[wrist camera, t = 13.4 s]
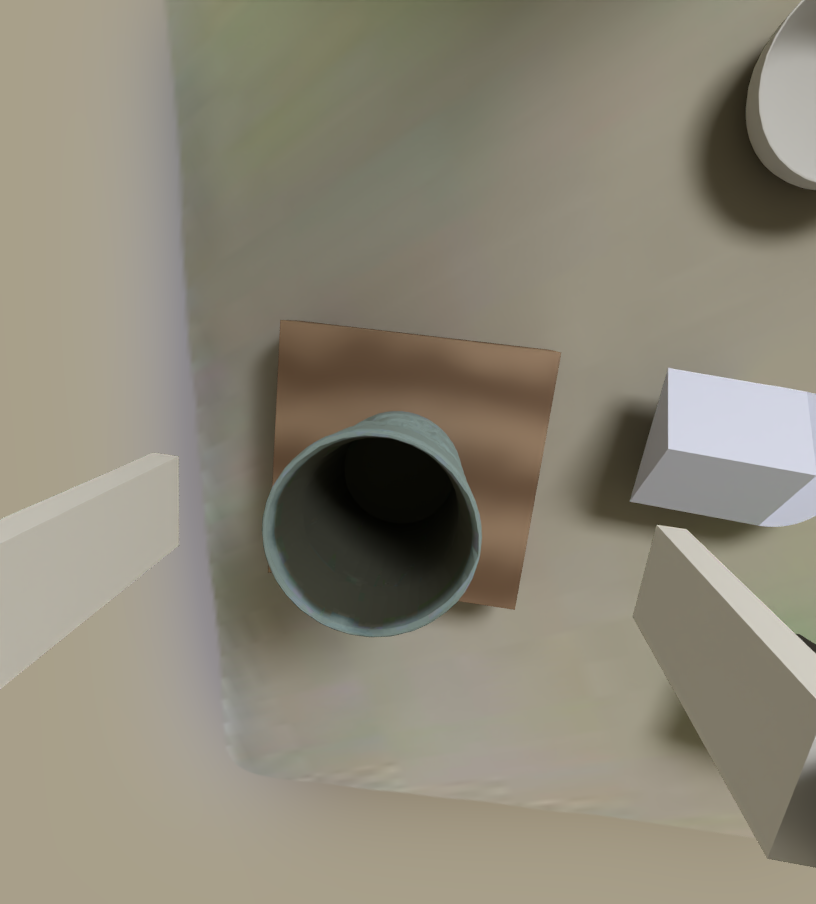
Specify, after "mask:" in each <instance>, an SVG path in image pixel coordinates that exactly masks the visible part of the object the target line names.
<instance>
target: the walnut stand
mask: <svg viewBox="0 0 816 904" xmlns="http://www.w3.org/2000/svg"><path fill="white" fill-rule="evenodd" d="M560 357H561V353H560V352H556V351H552V350H546V349H537V348H528V347H520V346H511V345H503V344H494V343H486V342H477V341H468V340H460V339H451V338H443V337H434V336H425V335H417V334H408V333H400V332H391V331H382V330H374V329H365V328H357V327H348V326H339V325H331V324H322V323H314V322H305V321H291V320H280V339H279V360H278V380H277V401H276V421H275V441H274V462H273V482H272V487H273V485H274V483H275V482H276V480H277V479H278V477H279V476H280V474H281V473H282V471H283V470H284V468H285V467H286V466H287V465H288V464H289V463H290V462H291V461H292V460H293V459H294V458H295V457H296V456H297V455H298V454H300V453H301V452H302V451H303V450H304V449H305V448H307V447H308V446H310V445H311V444H313V443H314V442H316V441H318V440H320V439H322V438H323V437H325V436H328V435H332V434H334V433H336V432H338V431H341V430H343V429H345V428H348V427H352V426H354V425H356V424H357V423H359V422H361V421H363V420H365V419H367V418H369V417H371V416H374V415H376V414H379V413H383V412H389V411H404V412H410V413H414V414H418V415H420V416H422V417H425V418H427V419H429V420H430V421H432V422H433V423H435V424H436V425H438V426H439V427H440V428H441V429H442V430H443V431H444V432H445V433H446V434H447V435H448V437H449V438H450V440H451V441H452V442H453V444H454V446H455V448H456V450H457V452H458V455H459V458H460V461H461V466H462V468H463V471H464V475H465V477H466V480H467V483H468V485H469V487H470V489H471V492H472V494H473V496H474V499H475V501H476V504H477V507H478V511H479V514H480V520H481V528H482V543H481V552H480V557H479V561H478V564H477V567H476V570H475V573H474V576H473V579H472V580H471V582H470V584H469V586H468V588H467V589H466V591H465V593H464V594H463V595H462V596H461V598H460V599H459V600H458V601H461V602H468V603H474V604H481V605H488V606H494V607H501V608H507V609H514V610H515V605H516V600H517V594H518V589H519V583H520V578H521V572H522V567H523V561H524V556H525V550H526V545H527V539H528V533H529V528H530V522H531V517H532V511H533V506H534V500H535V495H536V489H537V484H538V478H539V473H540V467H541V462H542V456H543V451H544V445H545V440H546V434H547V428H548V423H549V417H550V412H551V406H552V401H553V395H554V390H555V384H556V379H557V373H558V368H559V362H560ZM268 572H270V573H272V571H271V569H270V567H269V564H268Z"/></svg>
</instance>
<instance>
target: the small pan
mask: <svg viewBox="0 0 816 904" xmlns="http://www.w3.org/2000/svg"><path fill="white" fill-rule="evenodd" d="M746 126H747V131H748V135H749V140H750V142H751V144H752V147H753V149H754V151H755V153H756V155H757V156H758V158H759V159H760V161H761V162H762V163H763V165H764V166H765V167H767V168H768V169H769V170H770V171H771V172H772V173H773V174H774V175H776V176H778V177H779V178H781V179H783V180H784V181H786V182H788V183H790V184H792V185H795V186H798V187H801V188H804V189H811V190H816V0H802V1H801V2H800V3H799V4H798V5H797V7H796V8H795V9H794V10H793V11H792V12H791V13H790V14H789V15H788V17H787V18H786V19H785V20H784V21H783V22H782V24H781V25H780V26H779V27H778V28H777V30H776V31H775V33H774V34H773V35H772V37H771V38H770V40H769V41H768V43H767V44H766V46H765V48H764V49H763V51H762V52H761V54H760V57H759V59H758V61H757V63H756V65H755V68H754V70H753V73H752V77H751V80H750V84H749V87H748V95H747V103H746Z"/></svg>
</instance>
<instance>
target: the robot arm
mask: <svg viewBox="0 0 816 904" xmlns="http://www.w3.org/2000/svg"><path fill="white" fill-rule="evenodd" d="M178 546H179V457H178V456H173V455H166V454H158V453H151V454H148V455H146V456H144V457H141V458H139V459H137V460H135V461H132V462H130V463H128V464H125V465H123V466H121V467H119V468H116V469H114V470H112V471H110V472H107V473H105V474H103V475H100V476H98V477H96V478H93V479H91V480H89V481H87V482H85V483H82V484H80V485H77V486H75V487H73V488H71V489H68V490H66V491H64V492H62V493H59V494H57V495H55V496H52V497H50V498H48V499H45V500H43V501H41V502H39V503H36V504H34V505H32V506H29V507H27V508H25V509H23V510H20V511H18V512H16V513H14V514H11V515H9V516H7V517H4V518H2V519H0V689H1V688H2V687H3V686H5V685H6V684H7V683H8V682H10V681H11V680H12V679H13V678H15V677H16V676H17V675H18V674H20V673H21V672H22V671H23V670H25V669H26V668H27V667H28V666H30V665H31V664H32V663H33V662H34V661H36V660H37V659H38V658H40V657H41V656H42V655H43V654H45V653H46V652H47V651H48V650H49V649H51V648H52V647H53V646H55V645H56V644H57V643H58V642H60V640H62V639H63V638H64V637H66V636H67V635H68V634H69V633H71V632H72V631H73V630H74V629H76V628H77V627H78V626H79V625H81V624H82V623H83V622H84V621H86V620H87V619H88V618H89V617H91V616H92V615H93V614H94V613H96V612H97V611H98V610H99V609H101V608H102V607H103V606H104V605H105V604H107V603H108V602H109V601H111V600H112V599H113V598H114V597H116V596H117V595H118V594H119V593H120V592H122V591H123V590H124V589H126V588H127V587H128V586H129V585H131V584H132V583H133V582H134V581H136V580H137V579H138V578H139V577H140V576H142V575H143V574H144V573H145V572H147V571H148V570H149V569H150V568H152V567H153V566H154V565H155V564H157V563H158V562H159V561H160V560H162V559H163V558H164V557H165V556H167V555H168V554H169V553H170V552H172V551H173V550H174V549H175V548H177V547H178ZM633 618H634V620H635V622H636V624H637V625H638V627H639V629H640V631H641V633H642V634H643V636H644V638H645V640H646V641H647V643H648V645H649V647H650V649H651V650H652V652H653V654H654V656H655V658H656V659H657V661H658V663H659V665H660V667H661V668H662V670H663V672H664V674H665V676H666V677H667V679H668V681H669V683H670V685H671V686H672V688H673V690H674V692H675V694H676V695H677V697H678V699H679V701H680V703H681V704H682V706H683V708H684V710H685V712H686V713H687V715H688V717H689V719H690V721H691V722H692V724H693V726H694V728H695V730H696V731H697V733H698V735H699V737H700V739H701V740H702V742H703V744H704V746H705V748H706V749H707V751H708V753H709V755H710V757H711V758H712V760H713V762H714V764H715V765H716V767H717V769H718V771H719V773H720V774H721V776H722V778H723V780H724V782H725V783H726V785H727V787H728V789H729V791H730V792H731V794H732V796H733V798H734V800H735V801H736V803H737V805H738V807H739V809H740V810H741V812H742V814H743V816H744V818H745V819H746V821H747V823H748V825H749V827H750V828H751V830H752V832H753V834H754V836H755V837H756V839H757V841H758V843H759V845H760V846H761V848H762V850H763V852H764V854H765V855H766V857H767V858H768V859H772V860H778V861H783V862H789V863H794V864H799V865H805V866H810V867H816V644H814V643H812V642H811V641H809V640H808V639H806V638H805V637H803V636H801V635H800V634H795V633H794V632H793V631H792V630H791V629H790V628H789V627H788V626H787V625H786V624H784V623H783V622H782V621H781V620H780V619H779V618H778V617H777V616H776V615H775V614H774V613H773V612H772V611H771V610H770V609H769V608H768V607H767V606H766V605H765V604H764V603H763V602H762V601H761V600H760V599H759V598H757V597H756V596H755V595H754V594H753V593H752V592H751V591H750V590H749V589H748V588H747V587H746V586H745V585H744V584H743V583H742V582H741V581H740V580H739V579H738V578H737V577H736V576H735V575H734V574H733V573H732V572H731V571H729V570H728V569H727V568H726V567H725V566H724V565H723V564H722V563H721V562H720V561H719V560H718V559H717V558H716V557H715V556H714V555H713V554H712V553H711V552H710V551H709V550H708V549H707V548H706V547H705V546H704V545H703V544H701V543H700V542H699V541H698V540H697V539H696V538H695V537H694V536H693V535H692V534H691V533H690V532H689V531H688V530H687V529H682V528H675V527H668V526H661V525H656V529H655V533H654V537H653V540H652V544H651V548H650V552H649V556H648V560H647V563H646V567H645V571H644V575H643V579H642V583H641V587H640V590H639V594H638V598H637V602H636V606H635V610H634V613H633Z"/></svg>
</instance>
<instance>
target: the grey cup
mask: <svg viewBox="0 0 816 904" xmlns="http://www.w3.org/2000/svg"><path fill="white" fill-rule="evenodd" d="M262 536H263V547H264V551H265V555H266V558H267V561H268V564H269V567H270V569H271V571H272V574H273V575H274V577H275V579H276V581H277V583H278V584H279V586H280V587H281V589H282V590H283V591H284V593H285V594H286V595H287V596H288V597H289V598H290V599H291V600H292V602H293V603H294V604H295V605H296V606H297V607H298V608H299V609H300V610H301V611H303V612H304V613H306V614H307V615H309V616H310V617H312V618H313V619H315V620H316V621H318V622H319V623H321V624H323V625H325V626H328V627H330V628H332V629H334V630H337V631H341V632H344V633H347V634H351V635H358V636H365V637H387V636H394V635H399V634H403V633H407V632H411V631H414V630H416V629H419V628H421V627H423V626H425V625H427V624H429V623H431V622H432V621H434V620H435V619H437V618H438V617H440V616H441V615H442V614H444V613H445V612H446V611H448V610H449V609H450V608H451V607H452V606H453V605H454V604H456V603H457V601H458V600H459V599H460V598H461V596H462V595H463V594H464V593H465V591H466V589H467V588H468V586H469V584H470V582H471V580H472V579H473V576H474V573H475V570H476V567H477V564H478V561H479V557H480V552H481V543H482V528H481V520H480V514H479V511H478V507H477V504H476V501H475V499H474V496H473V494H472V492H471V489H470V487H469V485H468V483H467V480H466V477H465V475H464V471H463V468H462V466H461V461H460V458H459V455H458V452H457V450H456V448H455V446H454V444H453V442H452V441H451V440H450V438H449V437H448V435H447V434H446V433H445V432H444V431H443V430H442V429H441V428H440V427H439V426H438V425H436V424H435V423H433V422H432V421H430V420H429V419H427V418H425V417H422V416H420V415H418V414H414V413H410V412H404V411H389V412H383V413H379V414H376V415H374V416H371V417H369V418H367V419H365V420H363V421H361V422H359V423H357V424H356V425H354V426H352V427H348V428H345V429H343V430H341V431H338V432H336V433H334V434H332V435H328V436H325V437H323V438H322V439H320V440H318V441H316V442H314V443H313V444H311V445H310V446H308V447H307V448H305V449H304V450H303V451H302V452H301V453H300V454H298V455H297V456H296V457H295V458H294V459H293V460H292V461H291V462H290V463H289V464H288V465H287V466H286V467H285V468H284V470H283V471H282V473H281V474H280V476H279V477H278V479H277V480H276V482H275V483H274V485H273V487H272V489H271V492H270V494H269V497H268V499H267V502H266V506H265V510H264V514H263V521H262Z"/></svg>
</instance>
